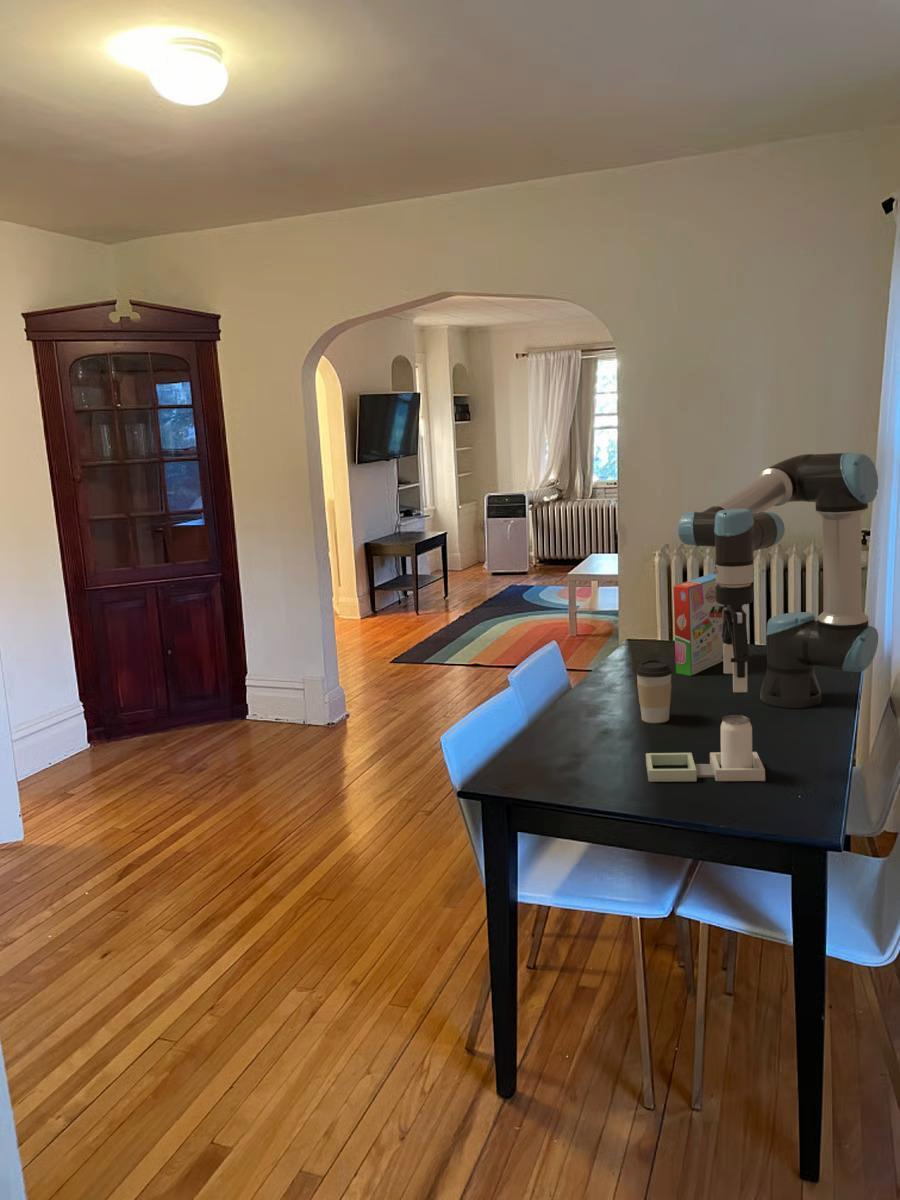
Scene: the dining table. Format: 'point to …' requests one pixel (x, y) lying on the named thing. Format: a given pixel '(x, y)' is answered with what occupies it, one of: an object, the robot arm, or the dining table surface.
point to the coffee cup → (654, 690)
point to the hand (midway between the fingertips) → (735, 682)
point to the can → (736, 742)
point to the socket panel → (700, 768)
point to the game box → (697, 625)
